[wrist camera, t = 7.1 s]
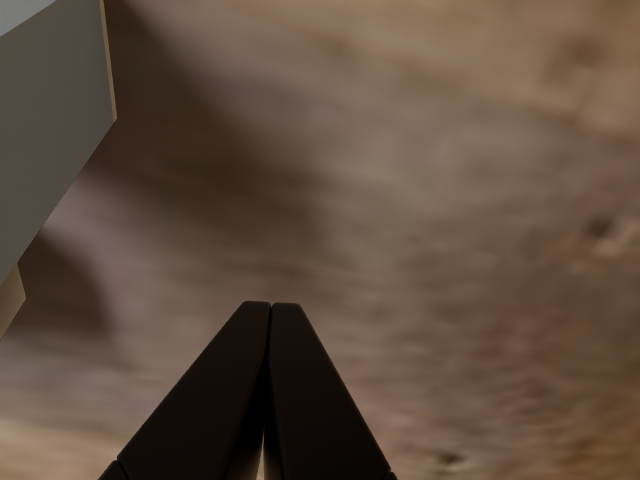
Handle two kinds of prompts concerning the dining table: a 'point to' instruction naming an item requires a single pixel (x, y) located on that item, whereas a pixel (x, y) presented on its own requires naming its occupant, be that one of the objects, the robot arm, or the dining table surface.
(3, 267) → the gray block
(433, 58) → the dining table surface
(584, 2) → the dining table surface
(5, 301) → the walnut block
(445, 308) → the dining table surface
